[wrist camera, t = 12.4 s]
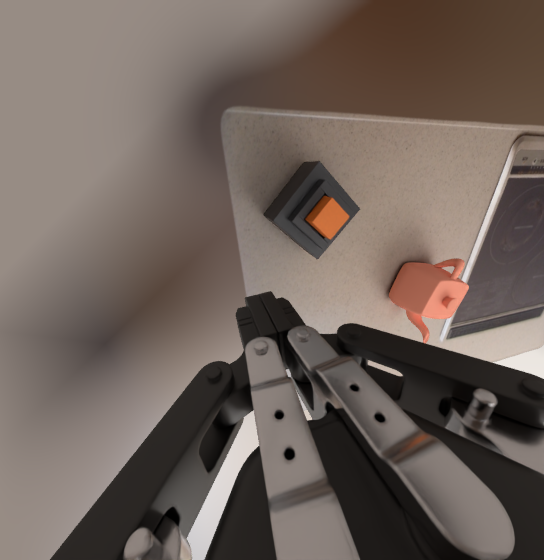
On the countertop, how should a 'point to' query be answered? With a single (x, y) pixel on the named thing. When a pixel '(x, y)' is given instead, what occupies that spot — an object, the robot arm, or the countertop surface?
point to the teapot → (428, 291)
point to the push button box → (308, 206)
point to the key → (327, 217)
